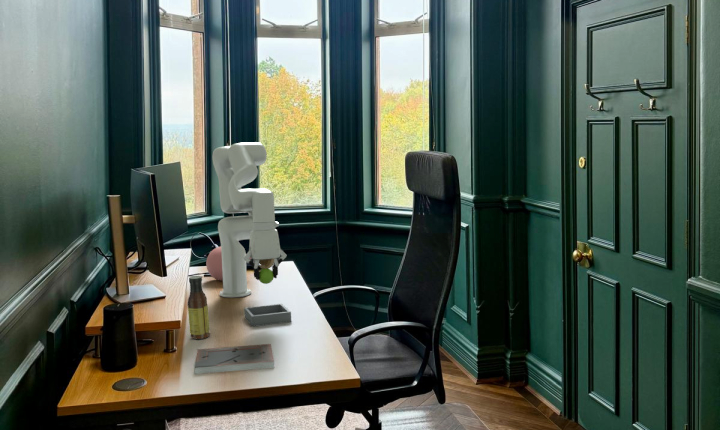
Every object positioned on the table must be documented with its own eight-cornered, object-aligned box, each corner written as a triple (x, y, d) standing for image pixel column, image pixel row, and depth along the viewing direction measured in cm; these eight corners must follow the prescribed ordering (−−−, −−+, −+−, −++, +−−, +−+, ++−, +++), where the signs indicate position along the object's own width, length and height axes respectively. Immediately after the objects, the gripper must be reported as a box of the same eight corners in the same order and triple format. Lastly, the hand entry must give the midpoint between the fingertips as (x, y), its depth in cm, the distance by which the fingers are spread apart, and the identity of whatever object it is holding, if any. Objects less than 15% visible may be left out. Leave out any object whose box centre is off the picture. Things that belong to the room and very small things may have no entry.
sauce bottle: (203, 333, 228) (200, 273, 225) (213, 336, 223) (210, 276, 221) (185, 337, 223) (182, 277, 221) (195, 341, 219) (192, 279, 216)
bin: (244, 317, 246) (244, 307, 245) (282, 313, 251) (281, 303, 250) (252, 326, 234) (251, 316, 234) (291, 321, 239) (290, 311, 238)
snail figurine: (274, 285, 238) (272, 251, 236) (256, 285, 239) (254, 250, 237) (278, 282, 243) (277, 248, 241) (261, 281, 244) (259, 248, 243)
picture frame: (194, 375, 189) (274, 369, 193) (194, 366, 189) (274, 360, 193) (197, 356, 206) (271, 351, 209) (197, 348, 205) (270, 343, 209)
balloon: (253, 282, 303) (252, 247, 301) (206, 285, 299) (205, 250, 297) (251, 275, 318) (250, 242, 316) (207, 278, 314) (205, 244, 312)
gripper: (285, 223, 245) (287, 274, 247) (237, 227, 239) (239, 278, 241) (291, 226, 238) (292, 278, 240) (241, 229, 232) (243, 282, 234)
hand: (266, 277), depth 240 cm, fingers closed on snail figurine, 5 cm apart
